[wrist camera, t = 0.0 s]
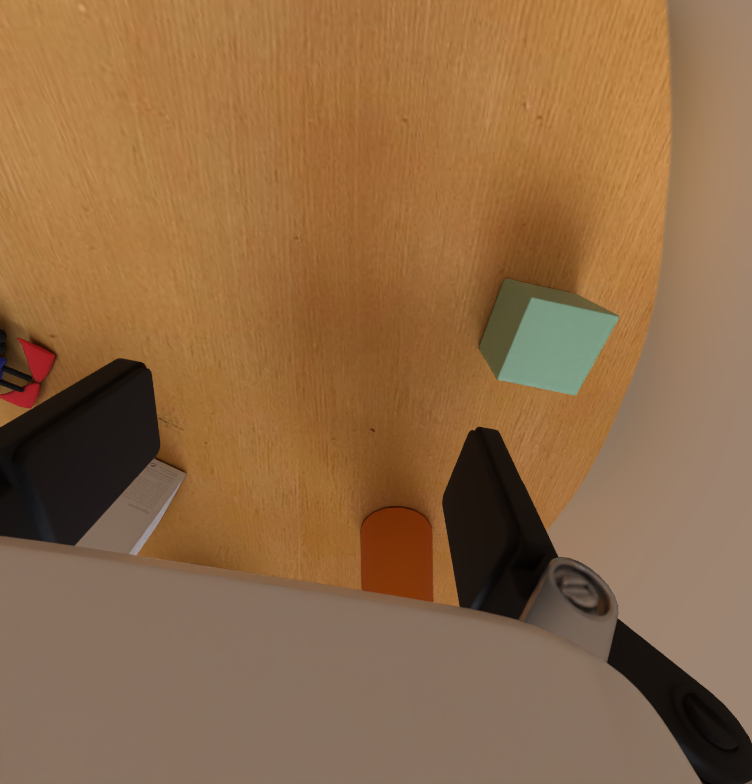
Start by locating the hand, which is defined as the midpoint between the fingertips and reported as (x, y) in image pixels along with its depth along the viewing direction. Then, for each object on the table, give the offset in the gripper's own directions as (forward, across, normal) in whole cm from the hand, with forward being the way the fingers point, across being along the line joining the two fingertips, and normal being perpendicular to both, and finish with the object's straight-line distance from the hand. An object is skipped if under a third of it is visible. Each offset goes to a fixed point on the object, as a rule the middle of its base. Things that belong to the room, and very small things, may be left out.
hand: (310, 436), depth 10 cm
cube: (+15, -12, -1) cm, 19 cm away
